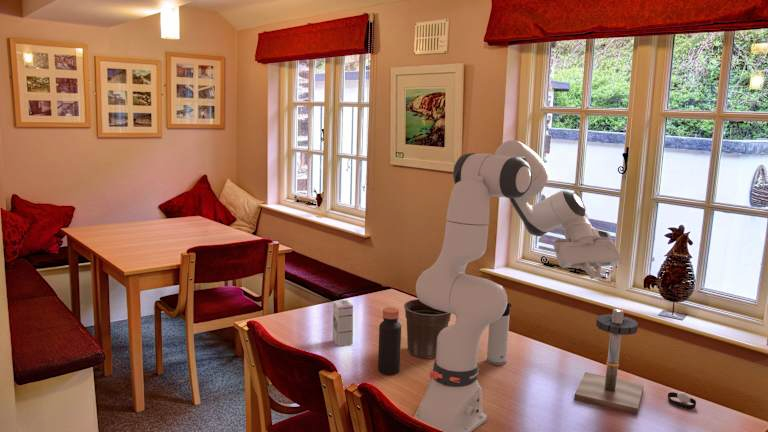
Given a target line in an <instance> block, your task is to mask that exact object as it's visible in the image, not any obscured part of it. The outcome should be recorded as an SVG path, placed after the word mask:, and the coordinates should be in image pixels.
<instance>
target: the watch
mask: <svg viewBox="0 0 768 432" xmlns="http://www.w3.org/2000/svg"><path fill="white" fill-rule="evenodd" d="M672 398H676V399H678V400H679V401H680V402H679V401H676V400H674V399H672ZM667 401H668V402H669V404H672V405H673V406H675V407H678V408H681V407H682V408H681V409H684V408H685V410H694V409H696V406H697V400H696V399H694V398H692V397H691V396H690V395H689V394H688V393H685V391H683V392H682V391H681V392H679V393H678V392H668V393H667ZM688 403H691V404H688Z"/></svg>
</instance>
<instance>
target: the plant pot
mask: <svg viewBox="0 0 768 432" xmlns="http://www.w3.org/2000/svg"><path fill="white" fill-rule="evenodd" d="M403 308H404V310H405V311H404V312H405V313H404V314H405V319H406V337H407V338H406V341H407V343H406V344H407V345H406V346H407V351H408V353H409V354H410V355H411V356H413V357H415V358H419V359H430V358H432V359H436V349H437V337H438V334H439V333H440V331H441V330H442V329H444V328H445V327H448V326H449V322H450V321H451V315H452V313H448V312H444V311H440V310H437V309H433V308H431V307H429V306H427V305H426V304H424V303H422V302H420V301H419V299H418V298H416V299H415V298H414V299H411V300H409V301H406V302H404V304H403Z"/></svg>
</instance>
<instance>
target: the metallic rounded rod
mask: <svg viewBox="0 0 768 432" xmlns="http://www.w3.org/2000/svg"><path fill="white" fill-rule="evenodd" d="M624 313H625V311H624V310H622V309H617V308H614V309H613V310H612V322H614V323H623V316H625V315H624ZM621 340H622V335H620V334H613V333H609V343H608V351H607V353H608V354H607V360H606V371H605V376H606V379H605V390H607V391H615V389H616V380H617V379H618V368H619V366H620V361H619V360H620V351H621V342H622V341H621Z"/></svg>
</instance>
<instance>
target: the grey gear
mask: <svg viewBox="0 0 768 432" xmlns="http://www.w3.org/2000/svg"><path fill="white" fill-rule="evenodd" d="M595 326H596V327H597V328H598V329H600V330H601V331H603V332H606V333H609V334H610V333H613V334H620V335H621V336H624V335H625V336H628V335H633V334H636V333H637V332H638V329H639V323H638V322H637V321H636V320H635V319H634V318H631V317H628V316H625V315H623V323H614V322H612V314H608V313H607V314H606V313H605V314H601V315H598V316H597V317H596V323H595Z"/></svg>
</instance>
